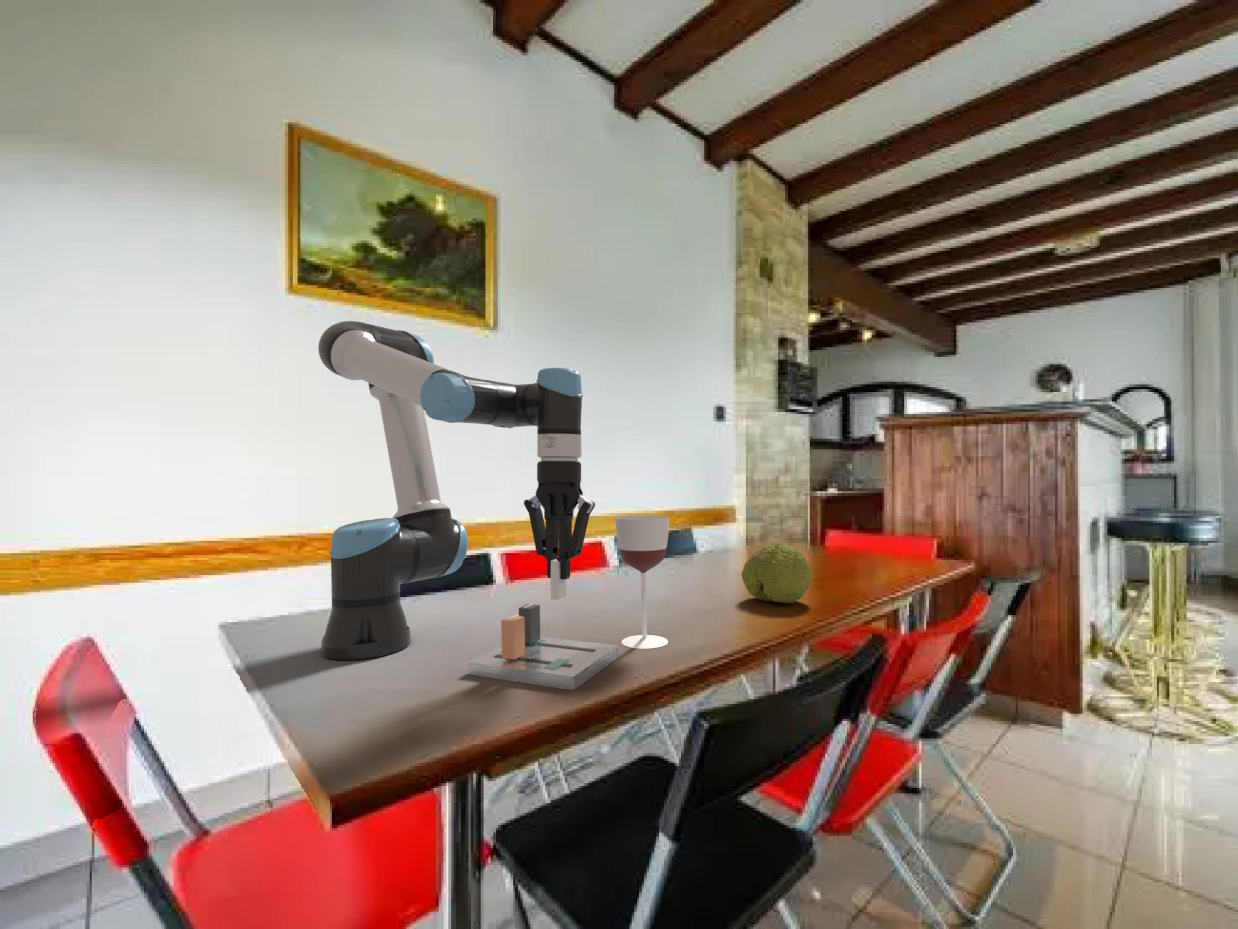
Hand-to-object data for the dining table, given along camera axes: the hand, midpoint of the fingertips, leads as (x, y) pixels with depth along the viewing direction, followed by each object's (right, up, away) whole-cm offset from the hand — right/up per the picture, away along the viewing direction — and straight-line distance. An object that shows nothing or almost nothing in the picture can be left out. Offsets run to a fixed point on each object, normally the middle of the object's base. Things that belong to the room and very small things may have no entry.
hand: (558, 597), depth 98 cm
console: (-2, -10, -4) cm, 11 cm away
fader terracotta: (-7, -8, -6) cm, 12 cm away
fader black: (-5, -8, +2) cm, 10 cm away
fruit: (+48, -10, +39) cm, 63 cm away
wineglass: (+15, -10, +8) cm, 20 cm away
